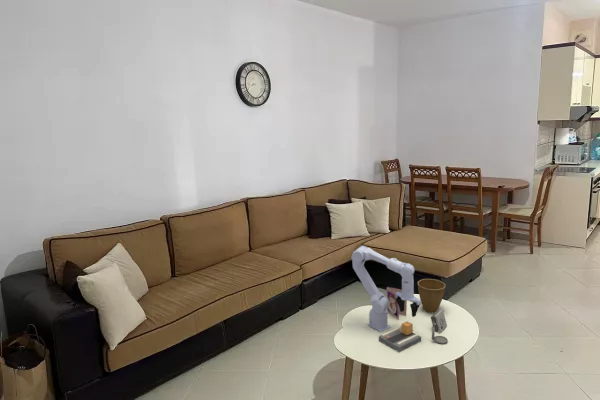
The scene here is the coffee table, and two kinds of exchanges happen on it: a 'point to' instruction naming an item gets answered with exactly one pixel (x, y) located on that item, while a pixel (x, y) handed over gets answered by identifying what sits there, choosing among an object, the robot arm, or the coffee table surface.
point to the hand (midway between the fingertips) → (408, 313)
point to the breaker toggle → (407, 328)
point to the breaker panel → (399, 339)
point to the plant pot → (431, 294)
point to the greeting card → (395, 303)
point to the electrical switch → (439, 321)
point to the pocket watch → (438, 338)
